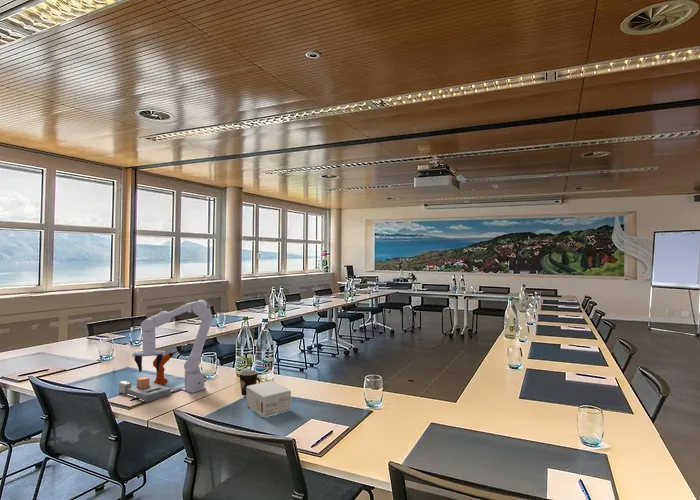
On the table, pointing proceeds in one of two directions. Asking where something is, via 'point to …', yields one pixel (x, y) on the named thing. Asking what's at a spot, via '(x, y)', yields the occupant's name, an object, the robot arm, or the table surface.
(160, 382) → the toy drill
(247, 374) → the coffee mug
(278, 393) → the supplement box
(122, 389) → the light gray block
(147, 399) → the socket board
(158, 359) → the robot arm
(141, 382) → the square peg
